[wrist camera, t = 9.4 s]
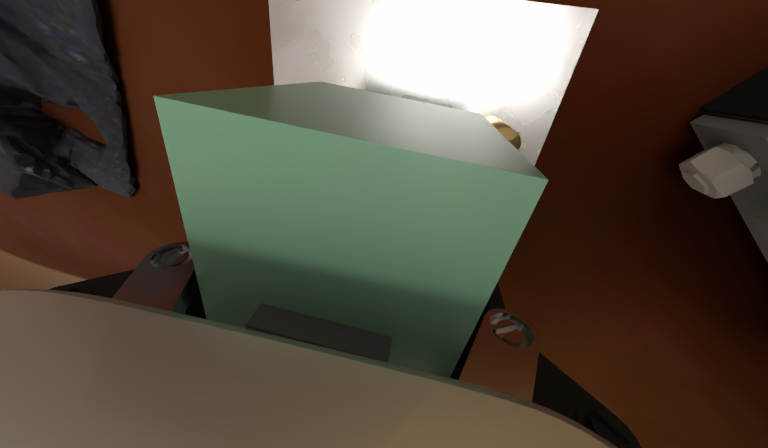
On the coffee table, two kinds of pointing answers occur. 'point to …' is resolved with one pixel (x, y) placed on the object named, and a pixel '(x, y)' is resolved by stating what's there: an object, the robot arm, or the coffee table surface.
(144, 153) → the coffee table surface
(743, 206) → the electrical component
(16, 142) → the dark slate chunk
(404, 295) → the green block
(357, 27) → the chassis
